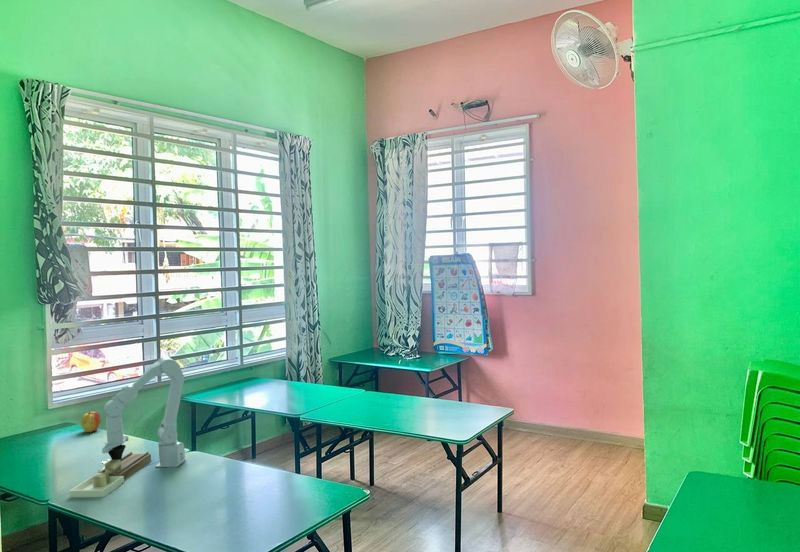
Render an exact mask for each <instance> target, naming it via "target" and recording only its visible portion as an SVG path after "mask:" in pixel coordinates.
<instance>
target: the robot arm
mask: <svg viewBox="0 0 800 552" xmlns="http://www.w3.org/2000/svg"><path fill="white" fill-rule="evenodd" d="M163 373H164V374H165V375H166V376H167V377H168V379H170V385H169V389H168V390H169V391H168V396H167V399H166V403H165V404H166V405H165V409H164V414H163V419H162V420H161V423H160V426H159V427H158V428H157V430H156V431H157V432H156V434H157V437H158V438H159V441H158V443H157V445H158V458H159V463H158V464H156V465H155V468H178V467H179V466H180V465H181V464H183V463H184V462H185V461H187V458H186V453H185V444H184V443H183V442H180V441H178V432H177V428H178V423H177V422H178V421H177V418H178V413H179V407H180V403H181V397H182V393H183V387H184V384H185V383H184V382H185V375H184V373H183V371H182V368H181V365H180V364H179V362H177V361H176V360H175V359H172V358H171V357H170V356H166V355H164V356H162V357H161V356H160V358H159V359H158V360H156V361H155V362H154V363H153V364H151V366H150V367H149V368H148V369H146V370H145V372H143V373H142V375H140V376H139V378H137V380H136V381H134V383H133V384H131V385H130V384H129V385H126V386H122V387H121V390H120V391H119V392H118V393H117V394H116V395H115V396H112V397H111V400H108V401H107V402H106V403H105V404H104V407H103V411H104V413H106V414H105V425H106V426H105V430H106V439H107V441H105V442H104V446H103V447H102V448H101V452H102V454H109V457H110V460H121V459H122V457H123V454H124V451H125V449H126V445H125V442H129V439H130V438H129V435H124V427H123V418H122V413H123V410H124V408H126V407H127V406H128V405H129V404H130V403H131V402H132V401H133V400H135V398H137V396H138V394H139V393H138V392H139V391H140V390H141V389H142V388H143V387H145V385H147V384H148V383H149V382H150V381H151V380H153V378H155V377H159V376H160V377H162V376H163Z"/></svg>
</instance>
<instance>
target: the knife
mask: <svg viewBox="0 0 800 552" xmlns="http://www.w3.org/2000/svg"><path fill="white" fill-rule="evenodd" d="M106 460H107V461H103V460H101V461H102V462H101V461H100V463H101V464H102V463H103V465H104V467H100V468H98V472H100V471H102V470H103V469H105V463H106V462H108V461H110V460H111V458H107V459H106Z"/></svg>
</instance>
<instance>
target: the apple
mask: <svg viewBox="0 0 800 552" xmlns="http://www.w3.org/2000/svg"><path fill="white" fill-rule="evenodd" d="M101 418H102V417H101V415H100V414H99V412H97V411H88V412H86V413H85V414H83V415H82V416H81V418H80V425H81V428H82V429H83V431H84V432H85V433H89V432H90V433H93V431H94V432H95V431H97V430H98V429H99V427H100V425H101V422H102V419H101Z"/></svg>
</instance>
